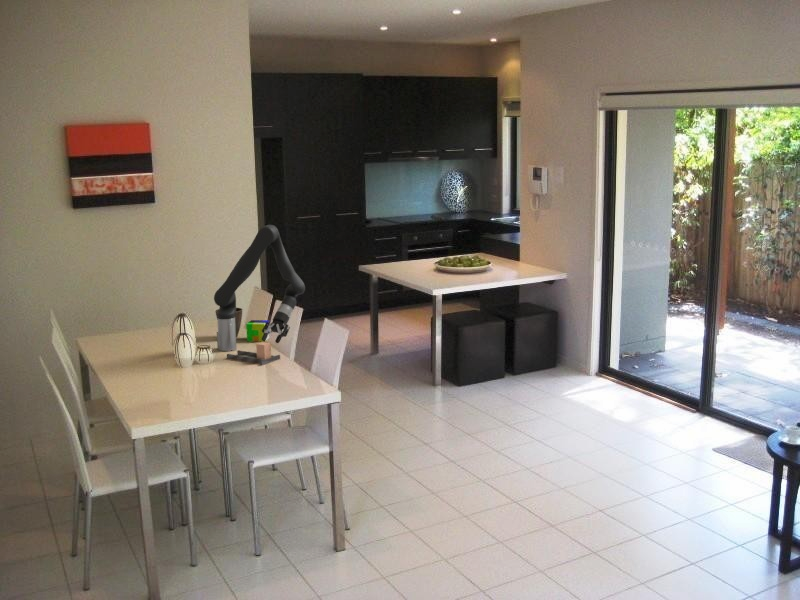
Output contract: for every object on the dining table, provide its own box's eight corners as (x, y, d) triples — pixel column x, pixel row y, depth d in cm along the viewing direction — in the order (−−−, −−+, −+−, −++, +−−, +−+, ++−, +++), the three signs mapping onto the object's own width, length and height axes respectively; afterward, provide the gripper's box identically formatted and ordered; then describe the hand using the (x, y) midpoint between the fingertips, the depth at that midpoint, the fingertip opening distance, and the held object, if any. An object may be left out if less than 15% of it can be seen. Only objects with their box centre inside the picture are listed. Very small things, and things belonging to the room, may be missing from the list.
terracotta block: (257, 361, 416) (256, 343, 415) (263, 359, 421) (262, 341, 419) (264, 362, 414) (264, 345, 412) (271, 360, 418) (270, 342, 416)
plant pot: (213, 340, 468) (211, 312, 465) (222, 334, 482) (220, 307, 479) (238, 341, 466) (237, 312, 463) (247, 334, 480) (245, 307, 477)
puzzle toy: (269, 337, 473) (268, 320, 471) (264, 341, 463) (264, 324, 462) (252, 337, 474) (251, 320, 472) (247, 341, 464) (246, 324, 463)
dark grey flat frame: (223, 362, 422) (223, 355, 421) (242, 355, 434) (241, 349, 433) (262, 368, 409) (262, 361, 409) (280, 361, 421) (280, 355, 421)
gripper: (268, 309, 428) (255, 336, 420) (290, 312, 421) (277, 339, 413) (275, 317, 433) (262, 344, 426) (297, 320, 426) (284, 347, 419)
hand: (269, 341), depth 420 cm, fingers open, 8 cm apart
